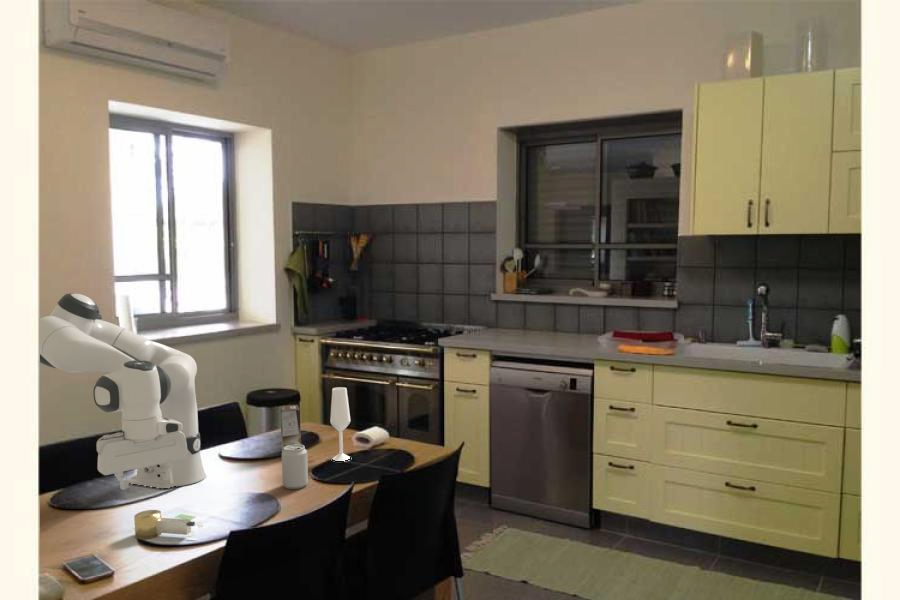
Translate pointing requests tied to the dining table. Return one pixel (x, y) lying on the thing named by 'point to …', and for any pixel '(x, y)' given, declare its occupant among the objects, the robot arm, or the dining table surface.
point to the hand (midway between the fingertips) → (145, 484)
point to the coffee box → (290, 425)
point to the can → (294, 466)
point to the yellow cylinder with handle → (159, 525)
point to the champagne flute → (340, 417)
